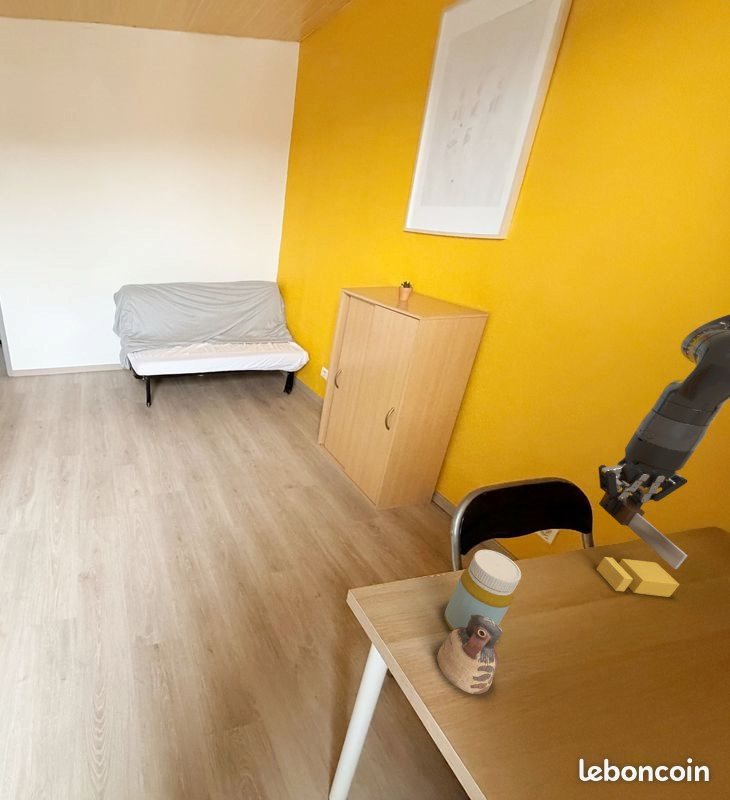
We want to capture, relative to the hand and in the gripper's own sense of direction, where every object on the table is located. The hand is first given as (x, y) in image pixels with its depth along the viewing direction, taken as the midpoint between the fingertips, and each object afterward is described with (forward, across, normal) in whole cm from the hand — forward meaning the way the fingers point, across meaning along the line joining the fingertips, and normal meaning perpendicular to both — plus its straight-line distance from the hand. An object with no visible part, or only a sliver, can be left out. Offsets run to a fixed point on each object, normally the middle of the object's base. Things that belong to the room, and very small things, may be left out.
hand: (617, 512), depth 80 cm
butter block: (+11, -4, +7) cm, 14 cm away
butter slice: (+11, +2, +7) cm, 13 cm away
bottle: (+12, +33, +21) cm, 41 cm away
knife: (+1, 0, +5) cm, 5 cm away
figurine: (+12, +37, +29) cm, 49 cm away
